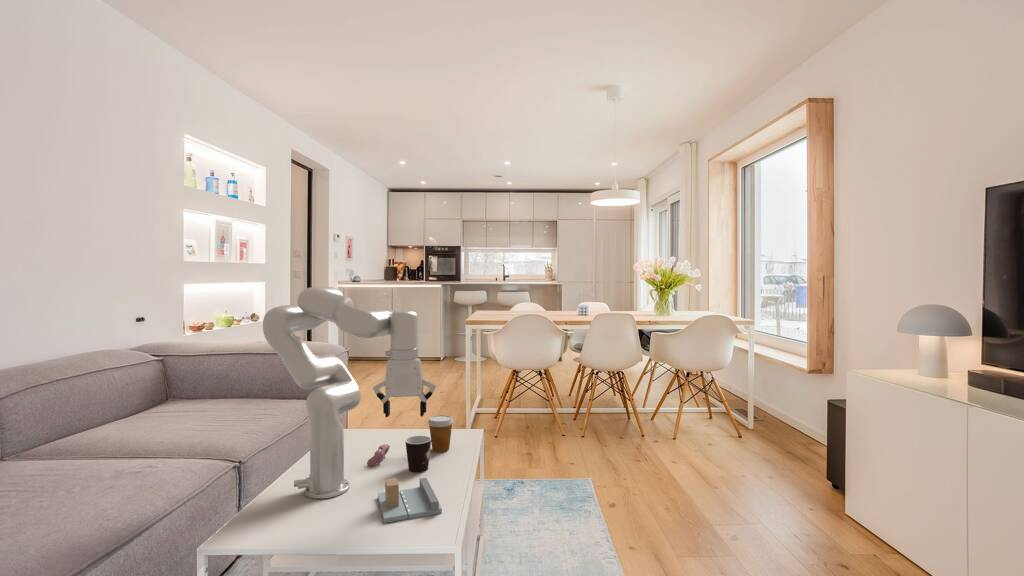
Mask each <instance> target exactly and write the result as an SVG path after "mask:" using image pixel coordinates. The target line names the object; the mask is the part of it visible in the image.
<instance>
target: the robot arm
mask: <svg viewBox="0 0 1024 576" xmlns="http://www.w3.org/2000/svg"><path fill="white" fill-rule="evenodd" d="M296 301H297V304H286V305H279V306H274V307H272V308H270V309H269V310H268V311H267V312H266V313H265V314H264V316H263V319H262V331H263V333H262V334H263V336H264V338H265V340H266V341H267V342H266V343H268V345H269V347H270V348H272V350H273V351H274V352H275V353H276V354H277V355H278V357H279V358H280V360H281V361H282V363H283V365H284V367H285V368H286V369H287V371H288V372H289V374H290V376H291V378H292V379H293V380H294V382H295V383H296V385H298V387H299V388H301V389H303V390H309V389H313V390H312V391H311V392H310V393H309V394H308V396H307V398H306V400H305V401H306V402H305V408H306V412H307V413H306V414H307V417H308V425H309V452H310V453H309V455H310V456H309V461H310V462H309V472H310V473H309V476H308V477H305V478H303V479H294V480H293V487H294V488H297V489H298V490H300V489H304V495H305V496H306V497H308V498H310V499H317V500H318V499H319V500H320V499H321V500H322V499H323V500H324V499H330V498H331V499H332V498H334V497H337V496H339V495H343V494H344V493H346V492H347V491H348V490H349V489H350V482H349V481H348V480H347V479H345V456H344V455H345V446H344V444H345V443H344V442H345V440H344V438H345V437H344V433H345V431H344V426H343V424H342V421H340V418H339V415H341V414H344V413H346V412H349V411H352V410H353V409H355V408H356V407H358V405H359V404H360V403H361V400H362V392H361V389H360V386H359V385H358V383H357V382H356V380H355V379H354V377H353V376H352V374H351V373H350V371H349V369H348V368H347V367H346V365H345V364H344V362H343V361H342V360H341V359H340V358H338V357H337V356H336V355H334V354H331V353H330V354H327V353H326V354H321V355H317V354H315V353H314V352H313V351H312V350H311V348H310V347H309V345H308V343H306V342H305V341H304V340H303V339H302V338H300V336H298V335H296V334H295V333H294V332H301V331H309V330H313V329H316V328H318V327H320V326H321V325H322V324H323V323H325V322H327V321H328V322H331V323H334V324H335V325H336V326H337V327H338V328H339V329H340V331H342V332H344V333H346V334H349V335H352V336H356V337H358V338H362V339H372V338H377V337H386V336H390V348H389V350H385V352H384V354H385V355H384V356H387V357H389V359H388V360H387V362H386V369H385V380H383V381H381V382H379V383H378V384H376V385H374V386H373V387H372V388H373V389H372V390H373V391H374V394H376V397H377V398H378V399H379V400H380V401H381V402H382V404H383V405H382V407H383V410H382V411H383V414H384V416H385V418H388V417H390V415H391V401H390V398H399V397H400V398H404V397H405V398H407V397H408V398H409V397H418V398H419V399H420V401H419V408H420V409H419V414H420V417H424V416H425V413H427V400H429V399H430V398H431V397H432V395H433V394H434V392H435V390H436V387H437V385H436V383H432V382H431V381H428V380H427V379H425V378H424V375H423V366H422V361H421V358H419V333H418V332H419V327H418V325H419V323H418V322H419V321H418V320H419V318H418V313H417V312H416V311H413V310H393V309H376V310H375V309H374V310H364V309H360V308H356V307H354V302H353V300H352V299H351V298H350V297H349V296H346V295H344V294H343V293H342V291H341V290H340V289H338V288H336V287H332V286H318V287H317V286H313V287H312V286H311V287H307V288H305V289H303V290H301V292H300V293H299V295H298V296H297V299H296ZM424 386H426V387H427V388H429V390H428V392H426V393H425V392H424ZM383 387H384V391H385V394H384V393H383V392H382V391H381V388H383ZM314 388H316V389H314Z"/></svg>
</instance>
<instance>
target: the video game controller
mask: <svg viewBox="0 0 1024 576" xmlns="http://www.w3.org/2000/svg"><path fill="white" fill-rule="evenodd" d="M390 447H391V446H390V445H389V444H386V443H384V444H382V445H381V444H380V446H378V449H377V450H376V451H375V452H374V455H373V456H372V457H370V458H369V459H368V460H367V462H366V464H367V466H368V467H374V466H376V465H377V464H379V465H380V464H381V462H382V461H383V460H384V459H386V454H387V453H388V452H389V451H390Z"/></svg>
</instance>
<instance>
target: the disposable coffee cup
mask: <svg viewBox="0 0 1024 576" xmlns="http://www.w3.org/2000/svg"><path fill="white" fill-rule="evenodd" d="M453 423H454V419H453V417H452V416H450V415H447V414H436V415H433V416H430V417H429V418H428V421H427V425H428V426H429V434H430V438H431V449H432V452H433V453H446V452H448V451H449V450H450V447H451V446H450V445H451V438H452V429H453Z"/></svg>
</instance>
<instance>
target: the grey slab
mask: <svg viewBox="0 0 1024 576" xmlns="http://www.w3.org/2000/svg"><path fill="white" fill-rule="evenodd" d="M384 481H385V483H384V484H385V485H384V486H385V487H384V491H385V492H384V491H383V492H380V493H379V492H378V493H377V500H378V503H379V507H380V512H381V516H382V520H383V522H384V524H386V523H391V522H397V521H403V520H409V519H408V516H407V512H406V509H405V506H404V503H403V501H402V498H401V495H400V490H399V489H400V487H399V486H400V485H399V481H398V479H397V477H393V478H392V477H391V478H386V479H384Z"/></svg>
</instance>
